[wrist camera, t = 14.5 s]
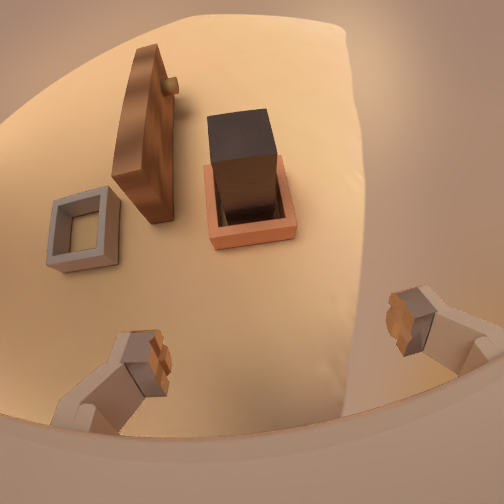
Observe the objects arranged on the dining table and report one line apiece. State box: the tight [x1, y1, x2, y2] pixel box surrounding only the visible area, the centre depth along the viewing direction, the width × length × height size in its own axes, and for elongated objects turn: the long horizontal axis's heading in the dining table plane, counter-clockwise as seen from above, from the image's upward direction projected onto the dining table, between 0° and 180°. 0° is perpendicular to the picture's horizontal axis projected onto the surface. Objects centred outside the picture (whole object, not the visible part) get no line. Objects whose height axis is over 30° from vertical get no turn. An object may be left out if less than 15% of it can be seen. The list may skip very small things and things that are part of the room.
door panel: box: [112, 44, 179, 224], centre depth 27 cm, size 18×4×9 cm, turn 8°
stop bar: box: [207, 109, 277, 226], centre depth 23 cm, size 4×4×11 cm
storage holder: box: [46, 186, 120, 273], centre depth 27 cm, size 7×7×3 cm
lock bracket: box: [204, 155, 297, 250], centre depth 27 cm, size 7×7×3 cm
